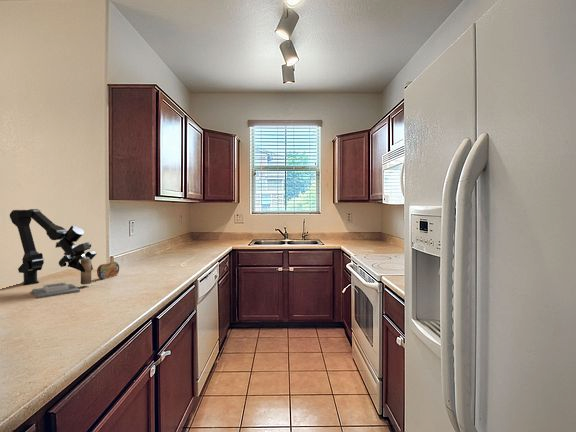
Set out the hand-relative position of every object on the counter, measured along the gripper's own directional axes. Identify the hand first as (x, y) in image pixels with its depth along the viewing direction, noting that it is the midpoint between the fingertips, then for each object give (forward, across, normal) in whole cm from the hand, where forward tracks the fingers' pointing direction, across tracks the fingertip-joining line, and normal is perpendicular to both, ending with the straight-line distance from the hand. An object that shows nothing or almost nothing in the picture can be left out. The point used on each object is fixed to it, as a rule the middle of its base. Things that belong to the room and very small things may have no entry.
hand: (88, 270), depth 165 cm
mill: (+4, 0, +6) cm, 7 cm away
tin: (+2, +21, +10) cm, 24 cm away
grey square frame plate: (+1, -12, +11) cm, 16 cm away
